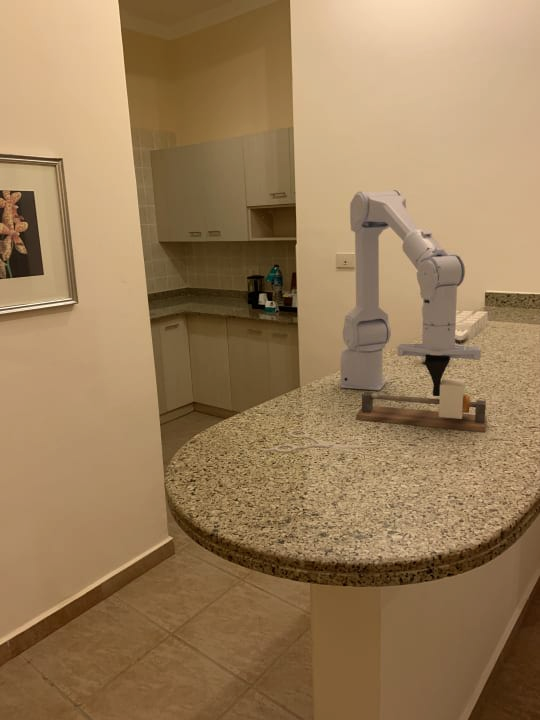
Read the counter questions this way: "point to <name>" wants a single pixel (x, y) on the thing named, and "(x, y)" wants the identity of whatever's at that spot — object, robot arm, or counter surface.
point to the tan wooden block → (451, 398)
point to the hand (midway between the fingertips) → (437, 394)
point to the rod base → (422, 413)
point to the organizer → (469, 324)
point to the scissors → (317, 445)
